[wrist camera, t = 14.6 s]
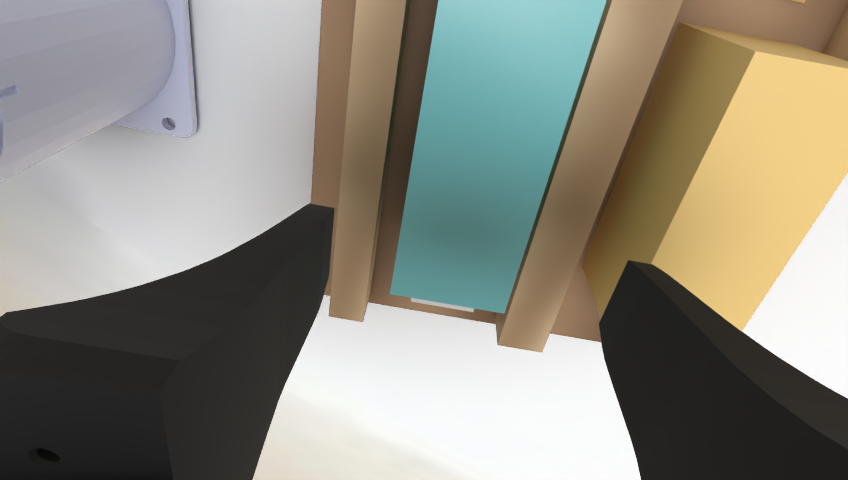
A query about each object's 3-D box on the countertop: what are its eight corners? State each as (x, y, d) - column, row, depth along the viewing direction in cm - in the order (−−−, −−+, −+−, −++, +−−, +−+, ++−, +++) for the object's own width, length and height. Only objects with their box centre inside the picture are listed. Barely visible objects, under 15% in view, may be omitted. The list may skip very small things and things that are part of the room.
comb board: (311, 279, 24) (294, 319, 22) (337, -154, 16) (313, -172, 13) (705, 346, 25) (733, 393, 23) (944, -32, 16) (1034, -26, 14)
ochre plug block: (572, 286, 22) (599, 368, 18) (680, 22, 17) (755, 51, 12) (658, 301, 23) (705, 386, 18) (794, 44, 17) (908, 80, 13)
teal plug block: (400, 246, 22) (385, 320, 18) (448, -42, 16) (444, -35, 12) (489, 261, 22) (495, 339, 18) (569, -19, 16) (607, -3, 12)
